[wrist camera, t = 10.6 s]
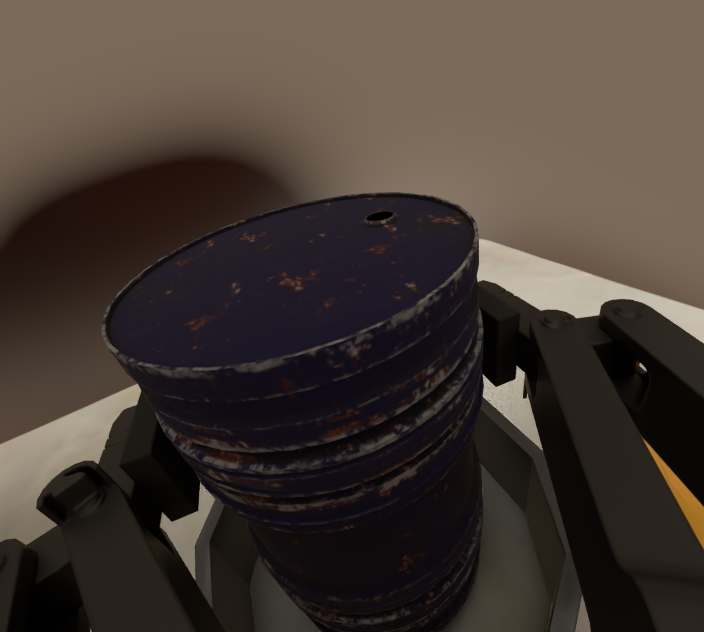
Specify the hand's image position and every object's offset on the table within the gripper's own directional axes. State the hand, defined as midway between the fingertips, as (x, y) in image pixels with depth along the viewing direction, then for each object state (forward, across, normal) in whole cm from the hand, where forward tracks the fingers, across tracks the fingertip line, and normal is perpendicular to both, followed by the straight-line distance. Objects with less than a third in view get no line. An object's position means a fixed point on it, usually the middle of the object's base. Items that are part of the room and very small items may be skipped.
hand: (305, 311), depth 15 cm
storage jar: (-4, 0, -11) cm, 12 cm away
